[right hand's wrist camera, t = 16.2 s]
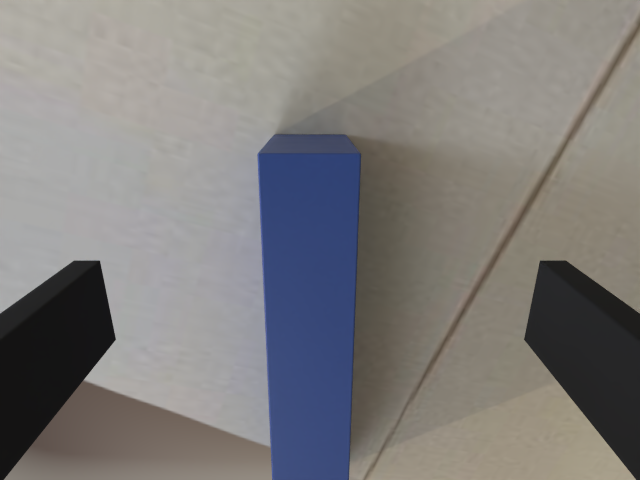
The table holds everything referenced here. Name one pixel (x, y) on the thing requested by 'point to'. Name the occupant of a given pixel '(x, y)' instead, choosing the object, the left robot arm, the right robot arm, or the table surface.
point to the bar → (309, 299)
